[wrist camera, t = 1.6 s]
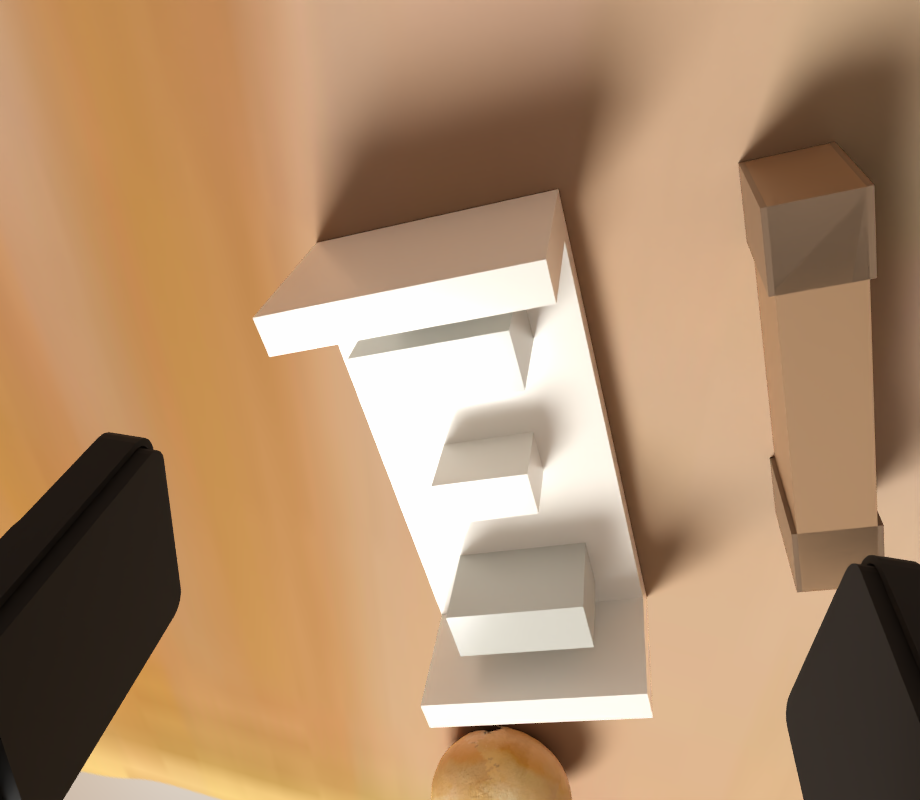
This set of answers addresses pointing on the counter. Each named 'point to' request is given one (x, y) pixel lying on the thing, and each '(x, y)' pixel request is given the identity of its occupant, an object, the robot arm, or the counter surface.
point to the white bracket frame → (490, 453)
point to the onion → (499, 769)
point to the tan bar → (817, 353)
